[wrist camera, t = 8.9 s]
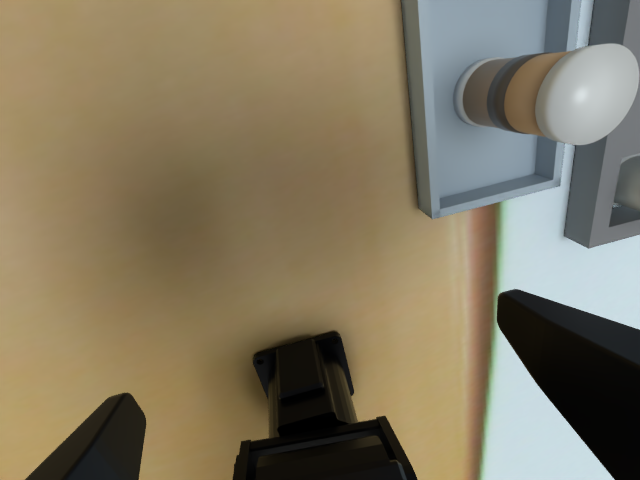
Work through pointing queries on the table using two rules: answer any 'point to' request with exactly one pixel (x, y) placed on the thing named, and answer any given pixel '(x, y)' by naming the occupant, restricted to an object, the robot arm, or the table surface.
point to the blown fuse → (551, 93)
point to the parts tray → (438, 89)
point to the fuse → (628, 183)
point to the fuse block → (607, 144)
